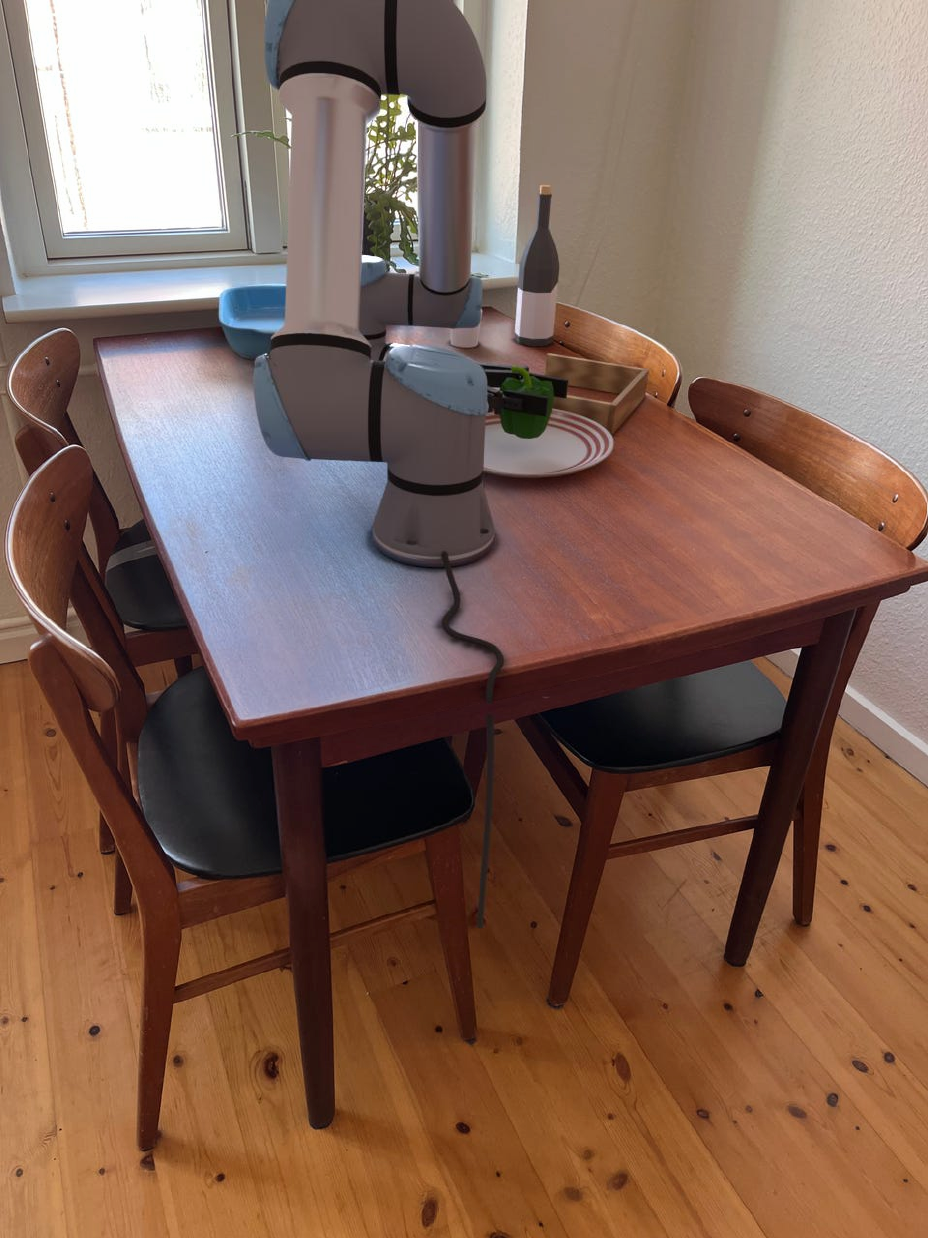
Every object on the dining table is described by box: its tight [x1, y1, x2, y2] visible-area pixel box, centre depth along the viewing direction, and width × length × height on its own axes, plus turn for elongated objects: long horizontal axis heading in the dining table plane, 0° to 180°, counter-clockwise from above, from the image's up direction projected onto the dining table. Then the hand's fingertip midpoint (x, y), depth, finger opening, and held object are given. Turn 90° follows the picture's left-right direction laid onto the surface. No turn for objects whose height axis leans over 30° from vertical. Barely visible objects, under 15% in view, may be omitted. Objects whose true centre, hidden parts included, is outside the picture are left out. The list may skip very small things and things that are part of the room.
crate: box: [539, 352, 650, 436], centre depth 162 cm, size 20×22×5 cm
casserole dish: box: [218, 283, 286, 360], centre depth 188 cm, size 37×22×7 cm, turn 13°
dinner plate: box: [483, 409, 615, 479], centre depth 142 cm, size 27×27×3 cm
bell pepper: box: [498, 365, 554, 439], centre depth 139 cm, size 8×8×10 cm
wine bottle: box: [514, 184, 560, 347], centre depth 189 cm, size 8×8×30 cm
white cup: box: [449, 308, 483, 349], centre depth 191 cm, size 7×7×7 cm
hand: (557, 397), depth 136 cm, fingers open, 8 cm apart
